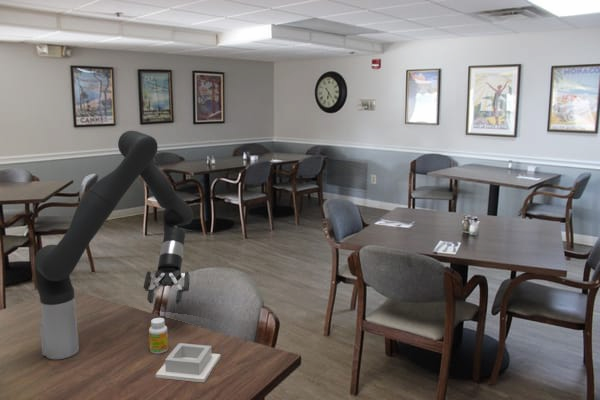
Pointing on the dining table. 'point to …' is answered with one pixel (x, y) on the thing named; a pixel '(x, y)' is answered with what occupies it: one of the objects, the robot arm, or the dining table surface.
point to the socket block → (189, 363)
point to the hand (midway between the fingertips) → (164, 302)
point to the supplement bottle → (158, 336)
